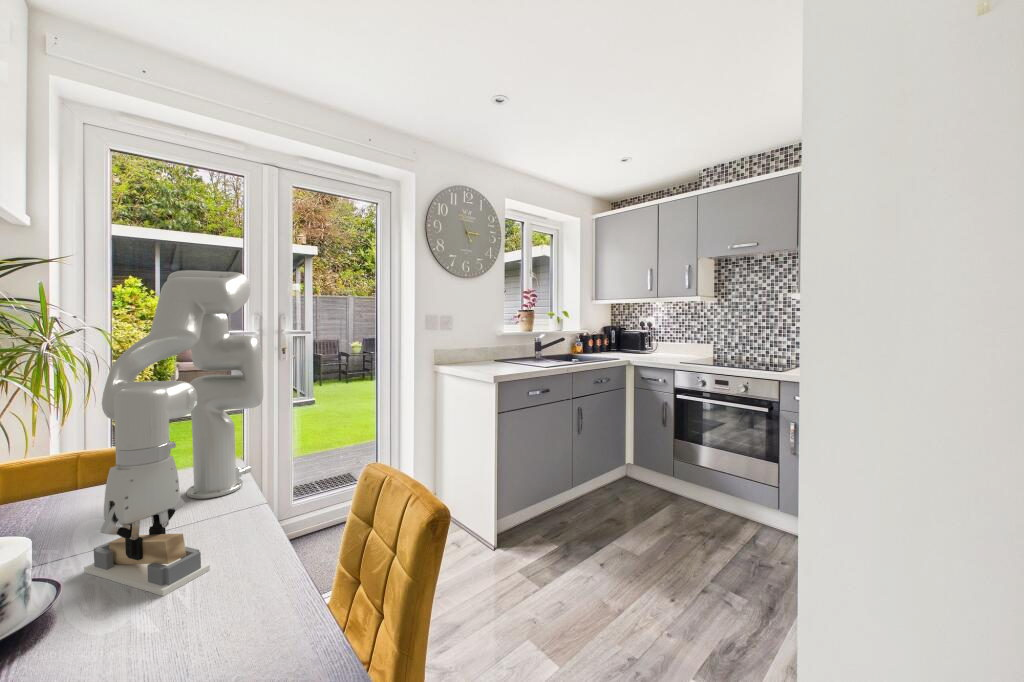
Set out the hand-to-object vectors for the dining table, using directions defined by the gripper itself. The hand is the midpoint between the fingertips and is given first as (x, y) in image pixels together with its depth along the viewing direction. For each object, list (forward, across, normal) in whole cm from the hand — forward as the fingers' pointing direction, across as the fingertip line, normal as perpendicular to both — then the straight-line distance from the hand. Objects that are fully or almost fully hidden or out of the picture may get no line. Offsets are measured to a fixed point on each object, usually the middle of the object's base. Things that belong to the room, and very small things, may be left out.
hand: (146, 552), depth 79 cm
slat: (+1, 0, 0) cm, 1 cm away
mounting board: (+4, 0, 0) cm, 4 cm away
